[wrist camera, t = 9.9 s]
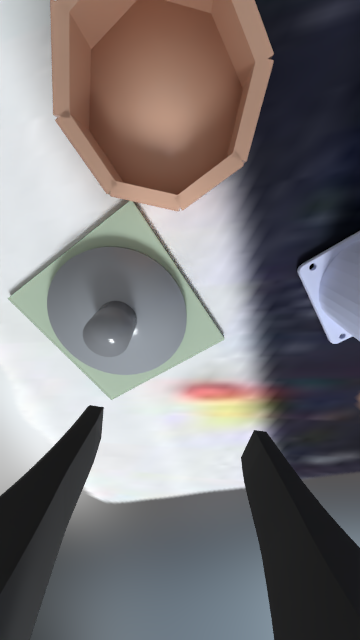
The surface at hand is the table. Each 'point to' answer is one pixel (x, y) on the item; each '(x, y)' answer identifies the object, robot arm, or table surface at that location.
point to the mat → (138, 235)
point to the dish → (159, 92)
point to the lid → (117, 310)
